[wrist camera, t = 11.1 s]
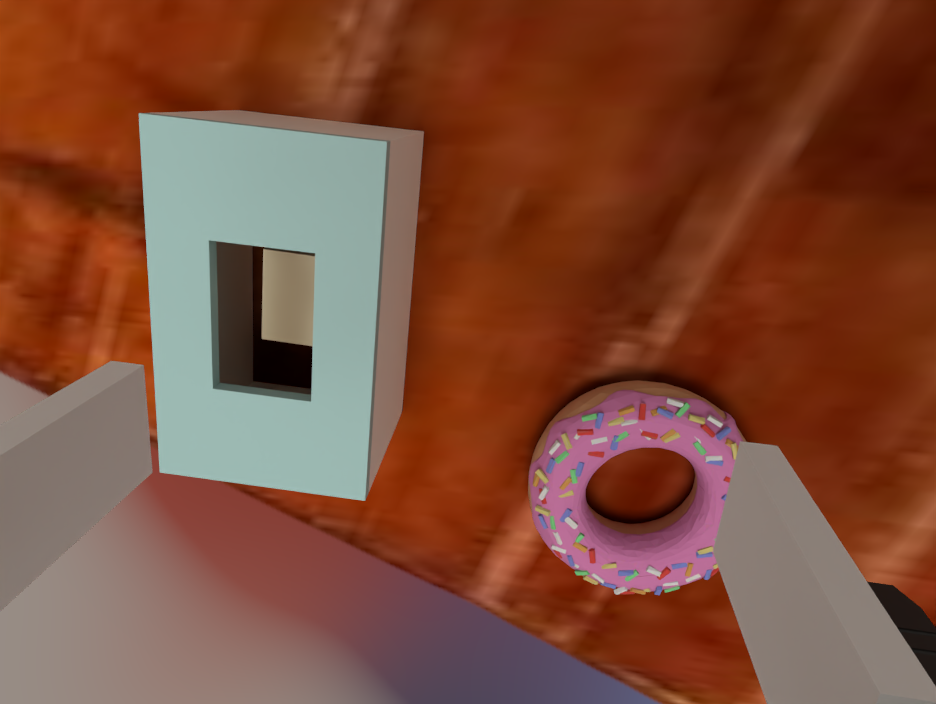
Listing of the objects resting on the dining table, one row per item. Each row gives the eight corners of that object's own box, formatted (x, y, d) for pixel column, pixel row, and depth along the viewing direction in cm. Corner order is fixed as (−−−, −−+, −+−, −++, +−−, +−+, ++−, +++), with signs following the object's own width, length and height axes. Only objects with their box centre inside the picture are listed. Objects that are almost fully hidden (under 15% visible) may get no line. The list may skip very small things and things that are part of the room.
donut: (610, 590, 50) (618, 641, 45) (485, 450, 47) (480, 488, 42) (788, 486, 46) (817, 530, 41) (664, 325, 43) (680, 353, 38)
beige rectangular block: (352, 233, 42) (319, 256, 36) (347, 310, 44) (315, 346, 38) (304, 226, 43) (263, 248, 36) (301, 303, 44) (261, 338, 38)
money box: (424, 131, 40) (386, 141, 30) (402, 411, 46) (365, 500, 36) (238, 110, 40) (138, 113, 30) (241, 390, 47) (159, 472, 36)
